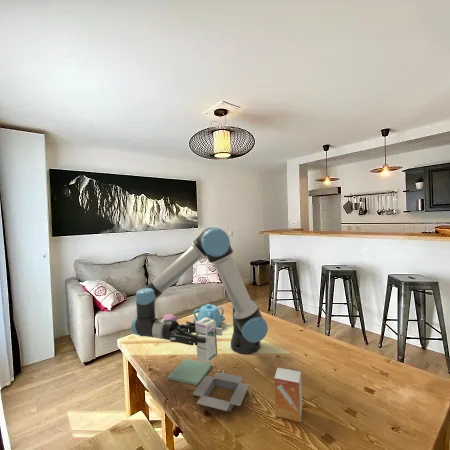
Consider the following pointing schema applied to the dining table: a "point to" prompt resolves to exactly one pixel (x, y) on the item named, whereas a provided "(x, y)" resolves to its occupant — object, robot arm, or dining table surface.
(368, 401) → the dining table surface
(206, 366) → the mat
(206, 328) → the syrup box
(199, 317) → the decorative pot
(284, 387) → the small box
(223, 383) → the grey open box frame
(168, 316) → the cupcake
